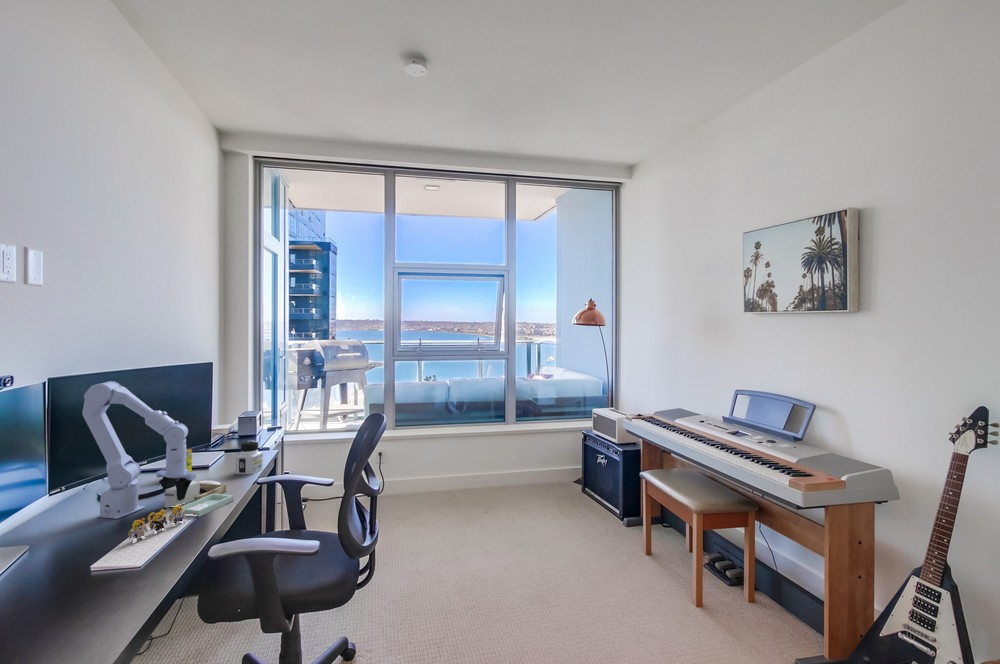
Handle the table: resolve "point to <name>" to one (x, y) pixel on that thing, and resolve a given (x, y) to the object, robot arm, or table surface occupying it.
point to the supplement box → (189, 460)
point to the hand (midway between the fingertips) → (175, 499)
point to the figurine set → (156, 521)
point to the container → (249, 458)
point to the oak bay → (211, 490)
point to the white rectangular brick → (189, 497)
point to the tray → (212, 501)
